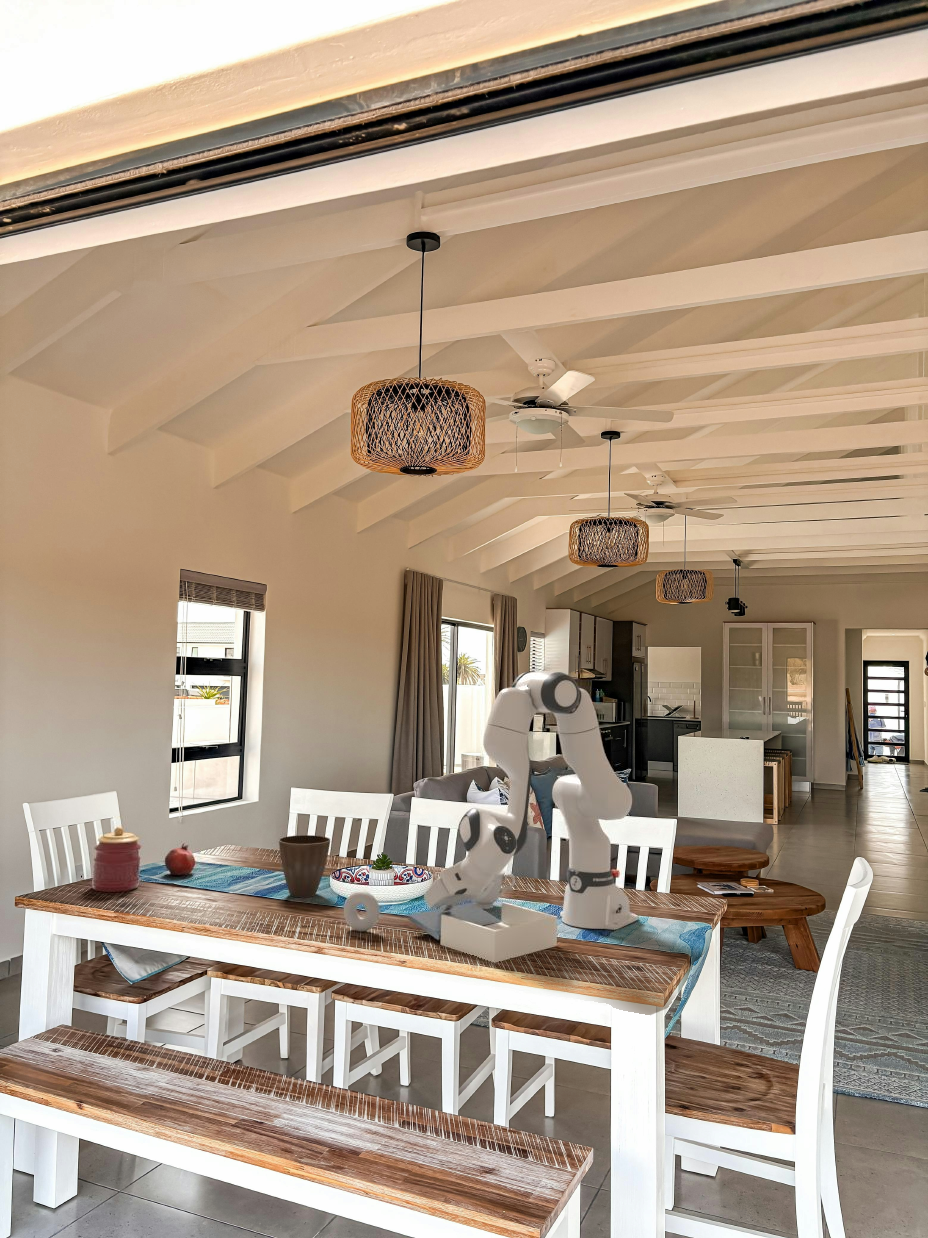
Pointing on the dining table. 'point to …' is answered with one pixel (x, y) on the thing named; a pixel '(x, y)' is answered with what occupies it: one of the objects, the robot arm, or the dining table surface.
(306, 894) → the plant pot
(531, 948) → the drawer box
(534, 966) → the dining table surface
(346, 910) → the donut
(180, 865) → the fruit
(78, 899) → the dining table surface
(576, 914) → the robot arm
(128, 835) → the canister
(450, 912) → the grey rectangular panel
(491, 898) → the teacup
